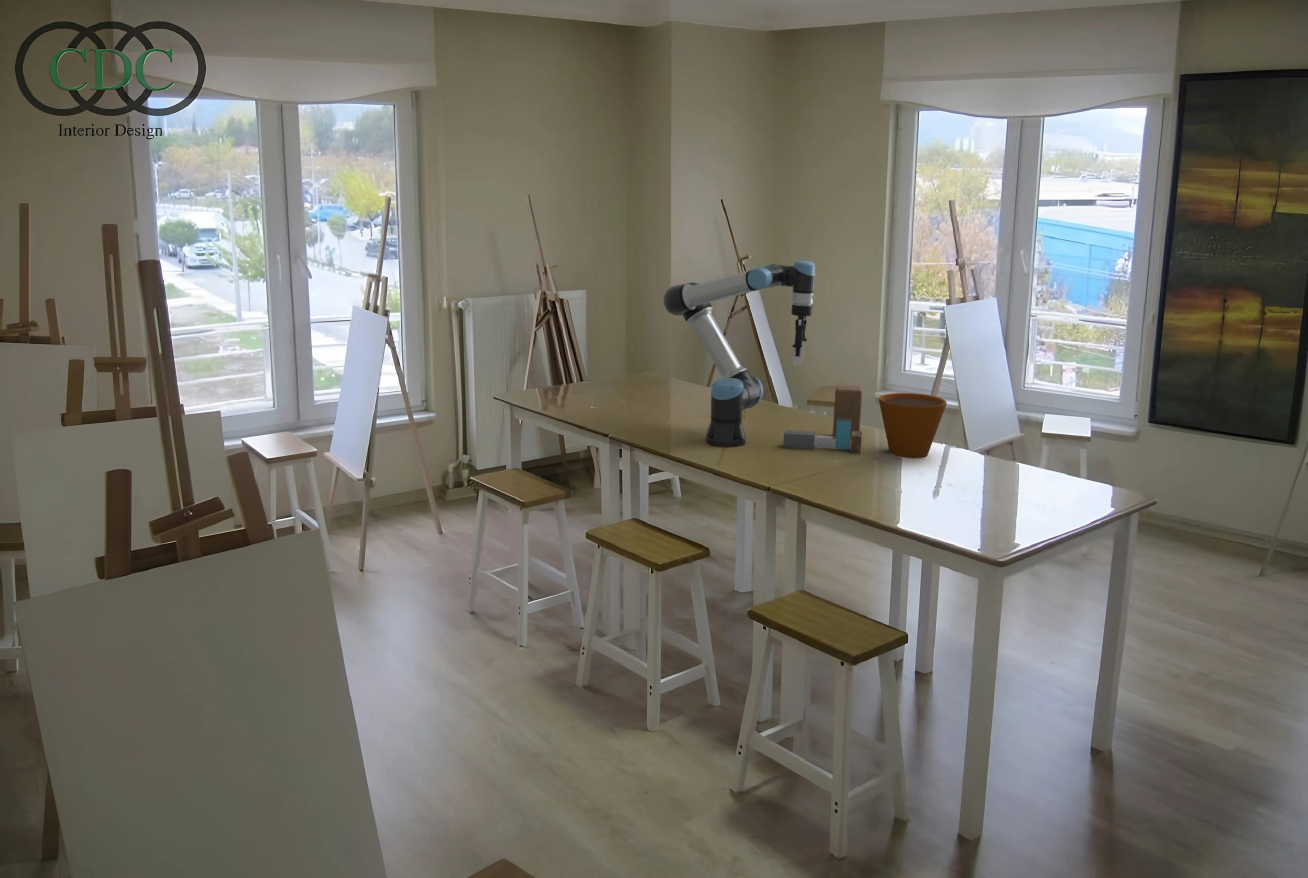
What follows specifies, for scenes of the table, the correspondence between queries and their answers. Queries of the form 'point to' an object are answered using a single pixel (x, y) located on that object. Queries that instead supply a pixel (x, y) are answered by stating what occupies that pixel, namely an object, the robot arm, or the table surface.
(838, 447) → the teal square post
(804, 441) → the grey rectangular block
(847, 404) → the wooden block
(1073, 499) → the table surface
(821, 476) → the table surface
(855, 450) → the socket
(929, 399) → the flower pot
